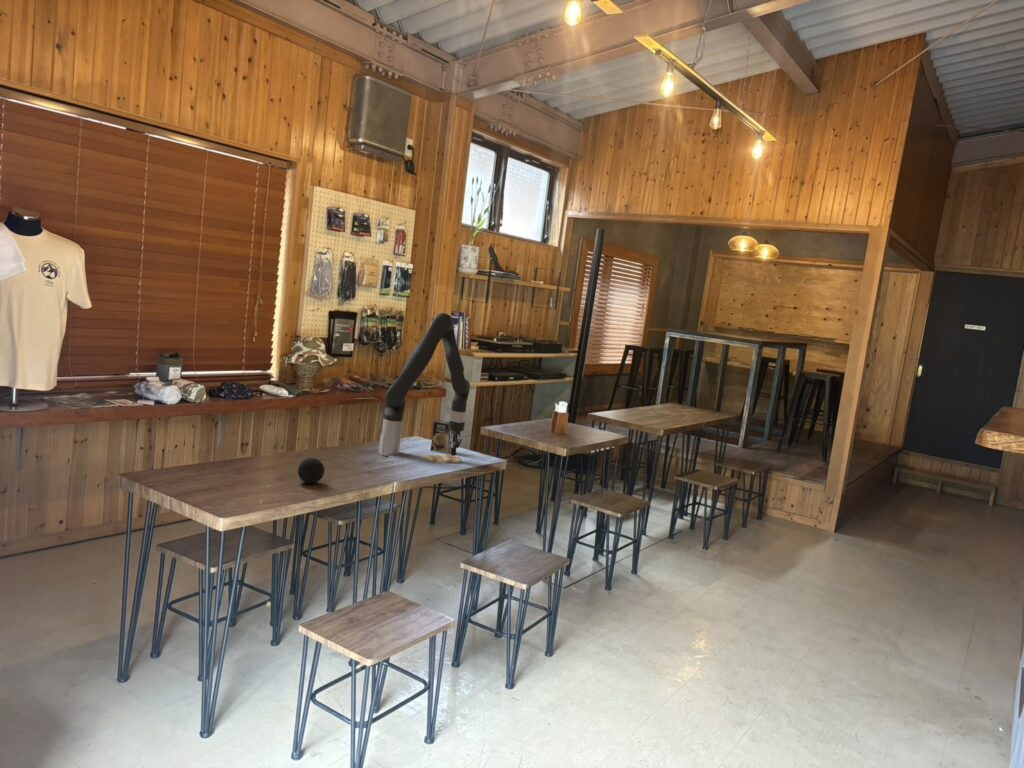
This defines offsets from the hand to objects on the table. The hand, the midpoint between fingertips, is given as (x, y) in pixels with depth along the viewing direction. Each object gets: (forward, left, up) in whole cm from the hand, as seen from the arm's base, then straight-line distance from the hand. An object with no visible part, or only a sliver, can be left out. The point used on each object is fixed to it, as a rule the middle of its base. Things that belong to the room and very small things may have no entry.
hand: (452, 455), depth 351 cm
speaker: (-73, -40, -4) cm, 83 cm away
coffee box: (0, +19, -4) cm, 19 cm away
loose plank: (-2, 0, -2) cm, 3 cm away
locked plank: (-10, 0, -3) cm, 10 cm away
